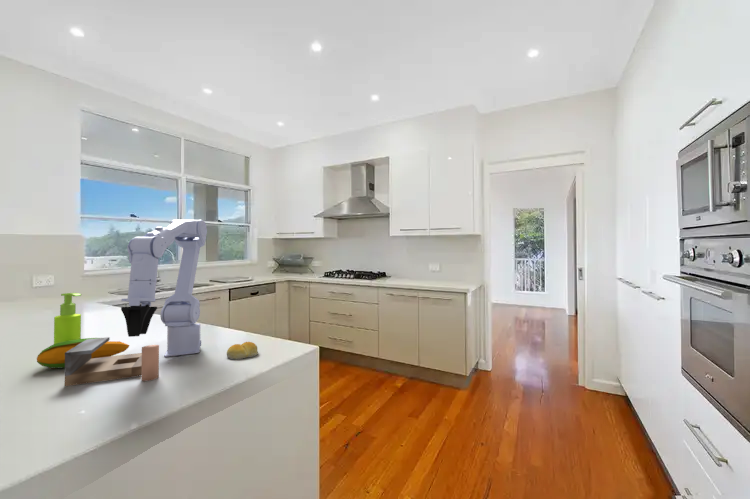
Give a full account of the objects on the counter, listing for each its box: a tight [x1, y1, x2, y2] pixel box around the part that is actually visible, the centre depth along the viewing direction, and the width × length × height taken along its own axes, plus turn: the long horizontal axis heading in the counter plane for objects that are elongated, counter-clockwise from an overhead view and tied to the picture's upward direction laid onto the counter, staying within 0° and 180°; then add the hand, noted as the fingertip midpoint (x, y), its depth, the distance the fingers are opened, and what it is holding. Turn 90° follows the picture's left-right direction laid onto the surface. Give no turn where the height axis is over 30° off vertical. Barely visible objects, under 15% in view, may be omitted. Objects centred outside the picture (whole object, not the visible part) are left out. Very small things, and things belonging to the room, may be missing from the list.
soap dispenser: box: [53, 292, 82, 344], centre depth 97 cm, size 6×7×20 cm
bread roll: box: [226, 341, 259, 360], centre depth 100 cm, size 8×9×4 cm
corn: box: [36, 337, 130, 369], centre depth 93 cm, size 7×8×20 cm
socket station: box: [63, 336, 142, 387], centre depth 86 cm, size 15×14×8 cm
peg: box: [140, 344, 160, 382], centre depth 81 cm, size 4×4×8 cm
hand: (137, 335), depth 81 cm, fingers open, 7 cm apart
